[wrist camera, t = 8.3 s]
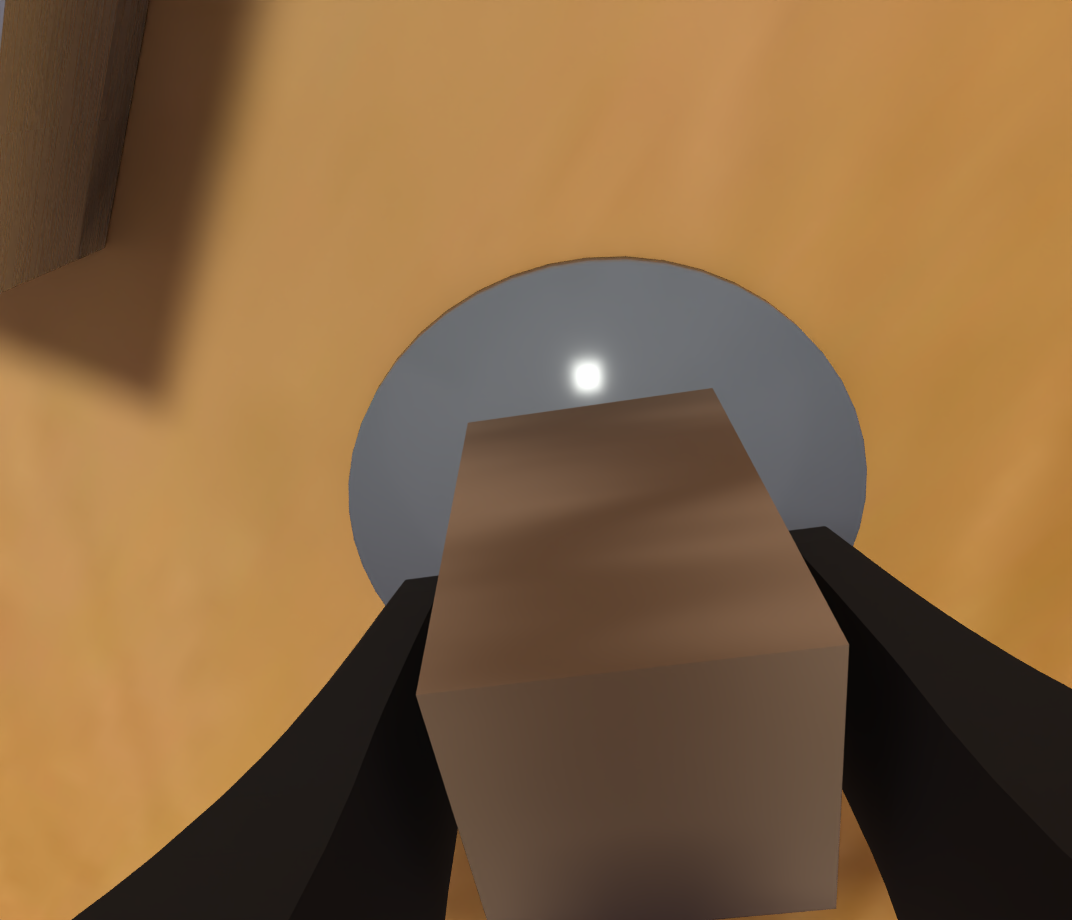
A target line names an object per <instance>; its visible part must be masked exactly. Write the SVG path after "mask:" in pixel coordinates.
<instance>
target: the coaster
mask: <svg viewBox="0 0 1072 920" xmlns="http://www.w3.org/2000/svg"><path fill="white" fill-rule="evenodd" d="M709 388H713V390H714V392H715V394H716V395H717V397H718V399H719V401H720V403H721V405H722V407H723V409H724V410H725V412H726V414H727V416H728V418H729V420H730V422H731V424H732V425H733V427H734V429H735V431H736V433H737V435H738V437H739V439H740V441H741V442H742V444H743V446H744V448H745V450H746V452H747V454H748V456H749V457H750V459H751V461H752V463H753V465H754V467H755V469H756V471H757V472H758V474H759V476H760V478H761V480H762V482H763V484H764V486H765V487H766V489H767V491H768V493H769V495H770V497H771V499H772V501H773V503H774V504H775V506H776V508H777V510H778V512H779V514H780V516H781V518H782V519H783V521H784V523H785V525H786V527H787V529H788V531H790V530H797V529H805V528H813V527H821V526H826V527H828V528H829V529H830V530H832V531H833V532H834V533H836V534H837V535H838V536H840V537H841V538H842V539H844V540H845V541H846V542H848V543H849V544H850V545H852V546H853V545H854V542H855V539H856V536H857V533H858V531H859V528H860V523H861V518H862V513H863V508H864V503H865V498H866V476H867V466H866V457H865V448H864V439H863V436H862V432H861V429H860V425H859V421H858V418H857V414H856V411H855V408H854V406H853V404H852V402H851V400H850V397H849V395H848V393H847V391H846V389H845V387H844V384H843V382H842V380H841V379H840V377H839V376H838V375H837V373H836V372H835V370H834V369H833V367H832V366H831V364H830V363H829V361H828V360H827V358H826V357H825V355H824V354H823V353H822V352H821V351H820V350H819V349H818V348H817V346H816V345H815V344H814V343H813V342H812V341H811V340H810V339H809V338H808V337H807V336H806V335H805V334H804V333H803V332H802V330H801V329H800V328H799V327H798V326H797V325H796V324H795V323H794V322H793V321H792V320H790V319H789V318H788V317H787V316H785V315H784V314H783V313H781V312H780V311H779V310H778V309H776V308H775V307H774V306H773V305H771V304H770V303H769V302H767V301H766V300H765V299H763V298H761V297H759V296H758V295H756V294H754V293H752V292H751V291H749V290H747V289H745V288H744V287H742V286H740V285H738V284H736V283H735V282H732V281H730V280H727V279H725V278H722V277H719V276H717V275H714V274H712V273H709V272H707V271H704V270H702V269H698V268H694V267H690V266H686V265H681V264H677V263H673V262H669V261H665V260H656V259H646V258H636V257H626V256H625V257H594V258H582V259H576V260H570V261H564V262H558V263H552V264H547V265H544V266H541V267H538V268H534V269H531V270H528V271H524V272H521V273H518V274H515V275H512V276H509V277H507V278H505V279H503V280H501V281H498V282H496V283H494V284H492V285H490V286H487V287H485V288H483V289H481V290H479V291H477V292H475V293H474V294H472V295H471V296H469V297H467V298H466V299H464V300H463V301H461V302H460V303H458V304H456V305H455V306H453V307H452V308H450V309H448V310H447V311H446V312H445V313H443V314H442V315H441V316H440V317H439V318H437V319H436V320H435V321H434V322H433V323H431V324H430V325H429V326H428V327H427V328H426V329H424V330H423V331H422V332H421V333H420V334H419V335H418V336H417V337H416V338H415V339H414V340H413V342H412V343H411V344H410V345H409V346H408V347H407V348H406V349H405V350H404V352H403V353H402V354H401V355H400V356H399V357H398V358H397V360H396V361H395V363H394V364H393V366H392V367H391V369H390V370H389V372H388V373H387V375H386V376H385V378H384V379H383V381H382V382H381V384H380V385H379V387H378V390H377V392H376V394H375V396H374V398H373V400H372V402H371V404H370V406H369V408H368V411H367V413H366V415H365V417H364V419H363V421H362V423H361V427H360V430H359V433H358V437H357V440H356V443H355V447H354V450H353V454H352V461H351V469H350V476H349V513H350V519H351V525H352V530H353V536H354V541H355V544H356V547H357V550H358V553H359V556H360V559H361V562H362V565H363V567H364V569H365V571H366V573H367V575H368V577H369V579H370V581H371V583H372V585H373V587H374V589H375V591H376V593H377V594H378V595H379V597H380V598H381V600H382V601H383V603H384V604H385V606H386V604H387V603H388V602H389V600H390V599H391V598H392V596H393V595H394V594H395V592H396V591H397V590H398V588H399V587H400V586H401V585H402V583H403V582H404V581H405V580H407V579H415V578H423V577H430V576H438V575H439V571H440V566H441V560H442V555H443V550H444V545H445V539H446V534H447V529H448V524H449V519H450V513H451V508H452V503H453V498H454V492H455V487H456V482H457V477H458V471H459V466H460V461H461V456H462V450H463V445H464V440H465V435H466V429H467V424H468V423H469V422H476V421H483V420H490V419H497V418H504V417H511V416H518V415H526V414H533V413H540V412H547V411H554V410H561V409H568V408H575V407H582V406H589V405H596V404H603V403H610V402H617V401H624V400H631V399H638V398H645V397H652V396H659V395H666V394H673V393H680V392H687V391H694V390H702V389H709Z"/></svg>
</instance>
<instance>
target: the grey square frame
mask: <svg viewBox="0 0 1072 920" xmlns="http://www.w3.org/2000/svg"><path fill="white" fill-rule="evenodd" d="M148 4H149V0H0V293H2V292H4V291H6V290H9V289H11V288H13V287H16V286H18V285H20V284H22V283H25V282H27V281H29V280H32V279H34V278H36V277H39V276H41V275H43V274H45V273H48V272H50V271H52V270H55V269H57V268H59V267H62V266H64V265H66V264H68V263H71V262H73V261H75V260H78V259H80V258H82V257H85V256H87V255H89V254H91V253H94V252H96V251H98V250H101V249H103V248H105V244H106V239H107V233H108V227H109V222H110V216H111V211H112V205H113V199H114V194H115V188H116V183H117V177H118V172H119V166H120V160H121V155H122V149H123V144H124V138H125V133H126V127H127V121H128V116H129V110H130V105H131V99H132V93H133V88H134V82H135V77H136V71H137V66H138V60H139V54H140V49H141V43H142V38H143V32H144V27H145V21H146V15H147V10H148Z"/></svg>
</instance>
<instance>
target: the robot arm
mask: <svg viewBox="0 0 1072 920" xmlns="http://www.w3.org/2000/svg"><path fill="white" fill-rule="evenodd" d="M789 533H790V534H791V536H792V538H793V540H794V542H795V544H796V546H797V548H798V550H799V551H800V553H801V555H802V557H803V559H804V561H805V563H806V565H807V566H808V568H809V570H810V572H811V574H812V576H813V578H814V580H815V581H816V583H817V585H818V587H819V589H820V591H821V593H822V595H823V596H824V598H825V600H826V602H827V604H828V606H829V608H830V610H831V612H832V613H833V615H834V617H835V619H836V621H837V623H838V625H839V627H840V628H841V630H842V632H843V634H844V636H845V638H846V640H847V642H848V643H849V657H848V677H847V697H846V717H845V737H844V758H843V778H842V790H843V792H844V794H845V796H846V798H847V800H848V802H849V805H850V807H851V809H852V811H853V813H854V815H855V817H856V820H857V822H858V824H859V826H860V828H861V830H862V832H863V835H864V837H865V839H866V841H867V843H868V845H869V847H870V850H871V852H872V854H873V857H874V859H875V861H876V864H877V866H878V869H879V871H880V873H881V876H882V878H883V880H884V883H885V885H886V888H887V891H888V893H889V896H890V899H891V902H892V905H893V907H894V910H895V913H896V916H897V919H898V920H1072V689H1071V688H1069V687H1067V686H1066V685H1064V684H1062V683H1060V682H1058V681H1056V680H1054V679H1052V678H1051V677H1049V676H1047V675H1045V674H1043V673H1041V672H1039V671H1038V670H1036V669H1034V668H1032V667H1031V666H1029V665H1027V664H1026V663H1024V662H1022V661H1020V660H1019V659H1017V658H1015V657H1013V656H1012V655H1010V654H1008V653H1007V652H1005V651H1004V650H1002V649H1000V648H999V647H997V646H996V645H994V644H992V643H991V642H989V641H988V640H986V639H984V638H983V637H981V636H979V635H978V634H976V633H975V632H973V631H971V630H970V629H968V628H967V627H965V626H964V625H962V624H961V623H959V622H958V621H956V620H955V619H953V618H951V617H950V616H948V615H947V614H945V613H944V612H942V611H941V610H940V609H938V608H937V607H935V606H934V605H932V604H931V603H929V602H928V601H926V600H925V599H924V598H922V597H921V596H919V595H918V594H916V593H915V592H914V591H912V590H911V589H909V588H908V587H907V586H905V585H904V584H902V583H901V582H900V581H898V580H897V579H896V578H894V577H893V576H891V575H890V574H889V573H887V572H886V571H885V570H883V569H882V568H881V567H879V566H878V565H877V564H875V563H874V562H873V561H871V560H870V559H869V558H867V557H866V556H865V555H863V554H862V553H861V552H859V551H858V550H857V549H856V548H854V547H853V546H852V545H850V544H849V543H848V542H846V541H845V540H844V539H842V538H841V537H840V536H838V535H837V534H836V533H834V532H833V531H832V530H830V529H829V528H828V527H826V526H821V527H813V528H805V529H797V530H790V531H789ZM438 576H439V575H438ZM438 576H430V577H423V578H415V579H407V580H405V581H404V582H403V583H402V585H401V586H400V587H399V588H398V590H397V591H396V592H395V594H394V595H393V596H392V598H391V599H390V600H389V602H388V603H387V604H386V606H385V607H384V608H383V610H382V611H381V613H380V614H379V615H378V617H377V618H376V619H375V621H374V622H373V624H372V625H371V626H370V628H369V629H368V630H367V632H366V633H365V634H364V636H363V637H362V638H361V640H360V641H359V642H358V644H357V645H356V646H355V648H354V649H353V650H352V652H351V653H350V654H349V656H348V657H347V658H346V659H345V661H344V662H343V663H342V665H341V666H340V667H339V668H338V670H337V671H336V672H335V674H334V675H333V676H332V677H331V679H330V680H329V681H328V682H327V684H326V685H325V686H324V687H323V689H322V690H321V691H320V692H319V693H318V695H317V696H316V697H315V698H314V699H313V700H312V702H311V703H310V704H309V705H308V706H307V707H306V709H305V710H304V711H303V712H302V713H301V715H300V716H299V717H298V718H297V719H296V720H295V722H294V723H293V724H292V725H291V726H290V727H289V729H288V730H287V731H286V732H285V733H284V734H283V735H282V736H281V737H280V738H279V739H278V741H277V742H276V743H275V744H274V745H273V746H272V747H271V748H270V749H269V750H268V751H267V752H266V753H265V754H264V755H263V756H262V757H261V758H260V759H259V760H258V761H257V762H256V763H255V764H254V765H253V766H252V767H251V768H250V769H249V770H248V771H247V772H246V773H245V774H244V775H243V776H242V777H241V778H240V779H239V780H238V781H237V782H236V783H235V784H234V785H233V786H232V787H231V788H230V789H229V790H228V791H227V792H226V793H225V794H224V795H223V796H221V797H220V798H219V799H218V800H217V801H216V802H215V803H214V804H213V805H211V806H210V807H209V808H208V809H207V810H206V811H205V812H203V813H202V814H201V815H200V816H199V817H198V818H197V819H195V820H194V821H193V822H192V823H191V824H190V825H189V826H187V827H186V828H185V829H184V830H183V831H182V832H181V833H179V834H178V835H177V836H176V837H175V838H174V839H173V840H171V841H170V842H169V843H168V844H167V845H166V846H165V847H163V848H162V849H161V850H160V851H159V852H158V853H157V854H155V855H154V856H153V857H152V858H151V859H149V860H148V861H147V862H146V863H144V864H143V865H142V866H141V867H139V868H138V869H137V870H136V871H134V872H133V873H132V874H131V875H129V876H128V877H127V878H126V879H124V880H123V881H122V882H120V883H119V884H118V885H117V886H115V887H114V888H113V889H112V890H110V891H109V892H108V893H106V894H105V895H104V896H102V897H101V898H100V899H98V900H97V901H96V902H94V903H93V904H92V905H90V906H89V907H88V908H86V909H85V910H84V911H82V912H81V913H80V914H78V915H77V916H76V917H74V918H73V919H72V920H445V916H446V907H447V898H448V889H449V883H450V876H451V869H452V863H453V856H454V850H455V843H456V837H457V830H458V827H457V823H456V820H455V817H454V814H453V811H452V808H451V804H450V801H449V798H448V795H447V792H446V789H445V786H444V782H443V779H442V776H441V773H440V770H439V767H438V763H437V760H436V757H435V754H434V751H433V748H432V744H431V741H430V738H429V735H428V732H427V729H426V726H425V722H424V719H423V716H422V713H421V710H420V707H419V703H418V700H417V697H416V691H417V686H418V681H419V676H420V671H421V665H422V660H423V655H424V650H425V644H426V639H427V634H428V629H429V623H430V618H431V613H432V608H433V602H434V597H435V592H436V587H437V581H438Z"/></svg>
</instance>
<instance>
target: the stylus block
mask: <svg viewBox="0 0 1072 920" xmlns="http://www.w3.org/2000/svg"><path fill="white" fill-rule="evenodd" d="M848 657H849V643H848V642H847V640H846V638H845V636H844V634H843V632H842V630H841V628H840V627H839V625H838V623H837V621H836V619H835V617H834V615H833V613H832V612H831V610H830V608H829V606H828V604H827V602H826V600H825V598H824V596H823V595H822V593H821V591H820V589H819V587H818V585H817V583H816V581H815V580H814V578H813V576H812V574H811V572H810V570H809V568H808V566H807V565H806V563H805V561H804V559H803V557H802V555H801V553H800V551H799V550H798V548H797V546H796V544H795V542H794V540H793V538H792V536H791V534H790V533H789V531H788V529H787V527H786V525H785V523H784V521H783V519H782V518H781V516H780V514H779V512H778V510H777V508H776V506H775V504H774V503H773V501H772V499H771V497H770V495H769V493H768V491H767V489H766V487H765V486H764V484H763V482H762V480H761V478H760V476H759V474H758V472H757V471H756V469H755V467H754V465H753V463H752V461H751V459H750V457H749V456H748V454H747V452H746V450H745V448H744V446H743V444H742V442H741V441H740V439H739V437H738V435H737V433H736V431H735V429H734V427H733V425H732V424H731V422H730V420H729V418H728V416H727V414H726V412H725V410H724V409H723V407H722V405H721V403H720V401H719V399H718V397H717V395H716V394H715V392H714V390H713V388H709V389H702V390H694V391H687V392H680V393H673V394H666V395H659V396H652V397H645V398H638V399H631V400H624V401H617V402H610V403H603V404H596V405H589V406H582V407H575V408H568V409H561V410H554V411H547V412H540V413H533V414H526V415H518V416H511V417H504V418H497V419H490V420H483V421H476V422H469V423H468V424H467V429H466V435H465V440H464V445H463V450H462V456H461V461H460V466H459V471H458V477H457V482H456V487H455V492H454V498H453V503H452V508H451V513H450V519H449V524H448V529H447V534H446V539H445V545H444V550H443V555H442V560H441V566H440V571H439V576H438V581H437V587H436V592H435V597H434V602H433V608H432V613H431V618H430V623H429V629H428V634H427V639H426V644H425V650H424V655H423V660H422V665H421V671H420V676H419V681H418V686H417V691H416V697H417V700H418V703H419V707H420V710H421V713H422V716H423V719H424V722H425V726H426V729H427V732H428V735H429V738H430V741H431V744H432V748H433V751H434V754H435V757H436V760H437V763H438V767H439V770H440V773H441V776H442V779H443V782H444V786H445V789H446V792H447V795H448V798H449V801H450V804H451V808H452V811H453V814H454V817H455V820H456V823H457V827H458V830H459V833H460V836H461V839H462V842H463V846H464V849H465V852H466V855H467V858H468V861H469V864H470V868H471V871H472V874H473V877H474V880H475V883H476V887H477V890H478V893H479V896H480V899H481V902H482V905H483V909H484V912H485V915H486V918H487V920H715V919H726V918H737V917H748V916H760V915H771V914H782V913H793V912H804V911H815V910H826V909H836V899H837V879H838V858H839V838H840V818H841V798H842V778H843V758H844V737H845V717H846V697H847V677H848Z"/></svg>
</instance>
